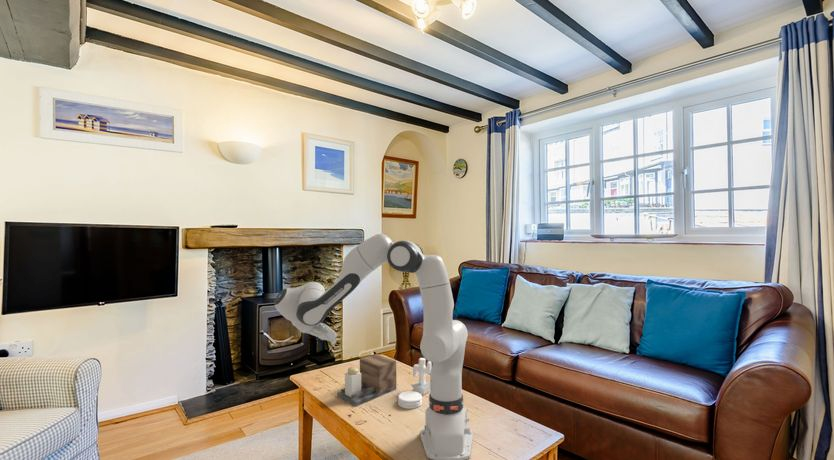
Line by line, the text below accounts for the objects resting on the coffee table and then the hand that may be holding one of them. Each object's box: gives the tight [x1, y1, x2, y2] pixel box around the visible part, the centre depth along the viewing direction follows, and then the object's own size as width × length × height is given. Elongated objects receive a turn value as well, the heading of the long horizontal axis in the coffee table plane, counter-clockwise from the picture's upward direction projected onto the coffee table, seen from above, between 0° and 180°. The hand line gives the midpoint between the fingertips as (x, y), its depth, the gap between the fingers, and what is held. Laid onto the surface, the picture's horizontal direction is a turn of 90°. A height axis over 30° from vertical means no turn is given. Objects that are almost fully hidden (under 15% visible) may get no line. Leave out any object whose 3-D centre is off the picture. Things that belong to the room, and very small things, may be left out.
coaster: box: [397, 390, 423, 410], centre depth 157 cm, size 10×10×4 cm
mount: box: [336, 353, 397, 407], centre depth 168 cm, size 22×14×13 cm, turn 136°
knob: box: [344, 366, 361, 397], centre depth 162 cm, size 5×5×11 cm
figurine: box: [410, 357, 432, 396], centre depth 168 cm, size 7×9×15 cm
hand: (329, 340), depth 154 cm, fingers open, 6 cm apart
